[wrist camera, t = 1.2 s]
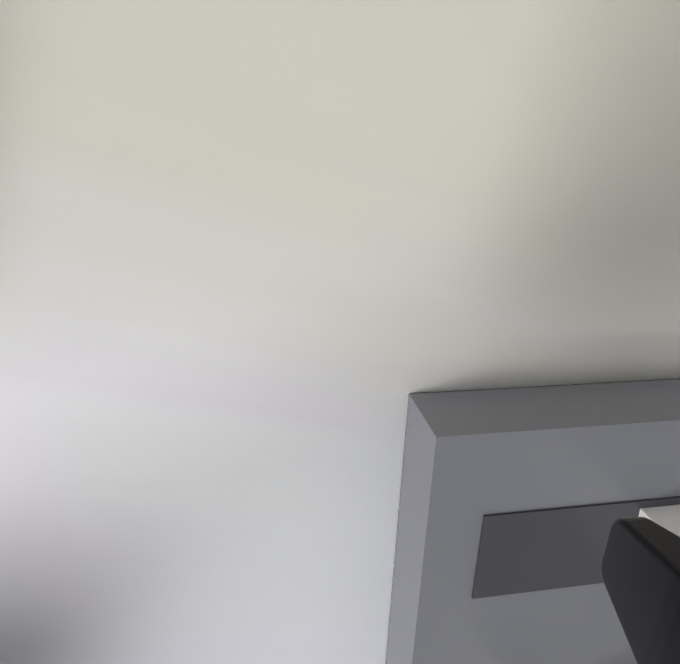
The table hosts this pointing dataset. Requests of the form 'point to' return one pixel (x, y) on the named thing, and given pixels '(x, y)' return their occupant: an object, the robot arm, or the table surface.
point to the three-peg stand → (525, 518)
